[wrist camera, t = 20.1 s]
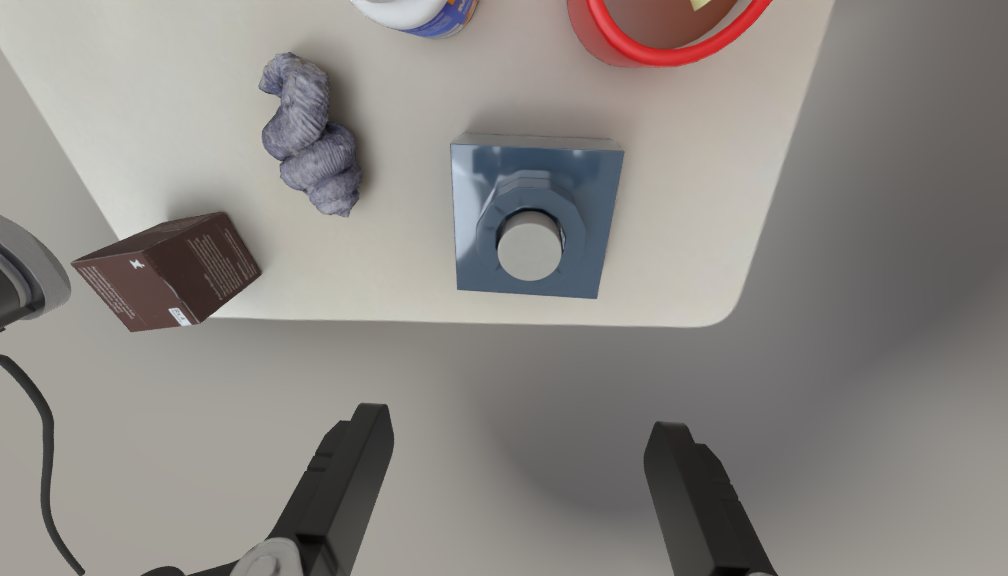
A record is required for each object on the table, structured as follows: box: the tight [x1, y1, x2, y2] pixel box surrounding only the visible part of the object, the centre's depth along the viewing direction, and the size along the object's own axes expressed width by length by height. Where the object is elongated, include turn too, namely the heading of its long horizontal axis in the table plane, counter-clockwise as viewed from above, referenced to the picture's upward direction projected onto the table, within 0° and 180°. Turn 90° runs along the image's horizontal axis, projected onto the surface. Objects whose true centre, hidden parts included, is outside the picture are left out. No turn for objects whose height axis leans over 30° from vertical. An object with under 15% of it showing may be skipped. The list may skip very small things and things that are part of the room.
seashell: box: [259, 52, 362, 217], centre depth 24 cm, size 5×5×10 cm
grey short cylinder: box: [498, 211, 562, 281], centre depth 21 cm, size 4×4×2 cm
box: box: [71, 212, 261, 332], centre depth 28 cm, size 6×6×7 cm
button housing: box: [450, 133, 624, 299], centre depth 24 cm, size 10×10×6 cm
